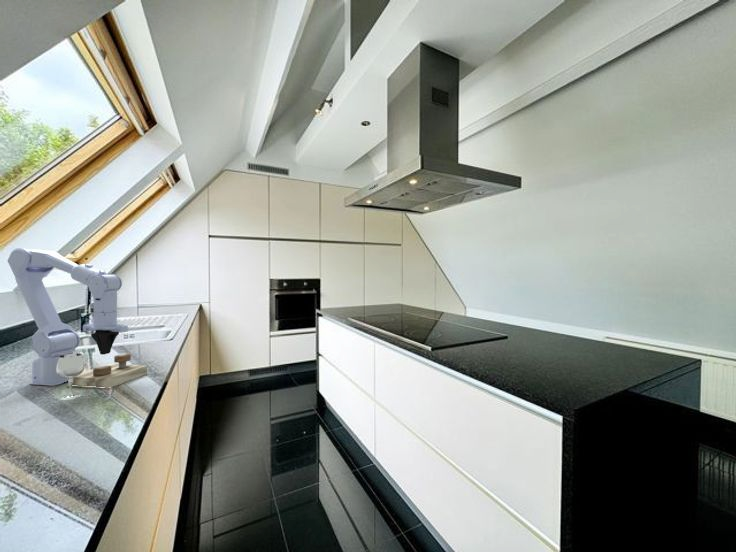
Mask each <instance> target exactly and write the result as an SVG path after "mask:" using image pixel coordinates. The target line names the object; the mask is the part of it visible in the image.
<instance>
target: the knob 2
mask: <svg viewBox="0 0 736 552" xmlns="http://www.w3.org/2000/svg"><path fill="white" fill-rule="evenodd" d="M113 358H114V359H113V361H114V363H115V364H119V369H125V368H126V364H127V362H129V361H131V360H132V355H131V353H118V354H116V355H114V356H113Z"/></svg>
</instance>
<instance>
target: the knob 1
mask: <svg viewBox="0 0 736 552" xmlns="http://www.w3.org/2000/svg"><path fill="white" fill-rule="evenodd" d="M108 365H109V364H105V365H100V366H96V367H93V368H92V369H93V375H94V376H104V375H106V374H109V373H111V366H108Z"/></svg>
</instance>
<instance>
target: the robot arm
mask: <svg viewBox="0 0 736 552" xmlns="http://www.w3.org/2000/svg"><path fill="white" fill-rule="evenodd" d="M7 263H8V266H9V267H10V269H11V271H12V273H13V276H14V279H15V282H16V284H17V286H18V289H19V291H20V292H21V295H22V297H23V299H24V301H25V303H26V306H27V307H28V309H29V312H30V313H31V316H32V318H33V320H34V322H35V324H36V327H37V331H35V333H33V335H32V336H31V341H32V342H33V345H32V346H33V351H34V352H35V354H37V355H38V356H36V357H35V358H34V359H33V362H32V365H31V367H32V368H31V370H32V371H31V374H32V375H31V376H32V378H31V381H30V382H28V385H35V386H36V385H37V386H51V387H53V386H59V385H61V384H65V383H68V382H67V381H69V378H62V377H60V376H58V374H57V371H56V367H57V363H58V359H59V357H60V356H63V355H67V354H74V352H76V349H77V348H78V347H79V346H80V343H81V337H80V335H79V334H78V332H76V331H75V330H74V328H73V326H72V325H69V324H67V323H64V322H62V320H61V318H60V315H59V314H58V311H57V310H56V307H55V305H54V302H53V301H52V299H51V297H50V295H49V293H48V291H47V289H46V285H45V284H44V282H43V279H44V278H46V277H48V275H49V274H50V273H51V272H52V271H53V270H54V269H57V270H59V271H62V272H64V273H68V274H70V277H71V279H72V280H74V281H76V282H78V283H80V284H82V285H85V286H86V287H88V288H89V290H90V292H91V297H92V298H93V323H87V324H83V325H82V332H87V331H89V332H90V331H91V332H92V333H90V336H91V338H92V339H93V340H94V342H95V343H96V345H97V348H98V351H99V354H100V355H107V354H110V353H111V351H112V347H113V344H114V342H115V340H116V339H117V337H118V335H119V334H120V333H122V334H123V333H127V332H129V331H128V330H129V326H128V325H123V324H118V291H120V289H121V288H122V285H123V282H122V281H123V280H122V279H121V277H120V276H118V275H117V274H116V273H115V274H114V273H110V274H107V273H106V271H104V270H99V269H97V268H94V267H93V266H94V265H92V264H89V263H81V264H77V263H75V262H74V261H72V260H70V259H68V258H66V257H64V256H62V255H61V254H60V253H59V252H56V251H54V250H51V249H47V250H44V249H29V248H22V247H18V248H15V249H13V250H12V251H11V253H10V254H9V257H8V259H7ZM64 382H65V383H64Z"/></svg>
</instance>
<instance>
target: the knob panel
mask: <svg viewBox="0 0 736 552" xmlns="http://www.w3.org/2000/svg"><path fill="white" fill-rule="evenodd" d="M107 365H108V366H111V373H109V374H106V375H104V376H94V375H93V369H94V368H91V369H90V370H86V371H83V372H82V373H81V374H80V375H78V376H76V377H73V378H72V379H73V383H72V385H78V386H96V387H105V388H109V387H112V386H114V387H116V385H117V386H119V385H122V384H124V382H125V383H126V381H127V382H129V380H130V381H132V380H135V379H137V378H141V377H142V376H145V375H147V374H148V369H147V368H148V365H146V364H145V365H144V364H142V365H141V364H128V363H126V368H125V369H119V363H110V364H107ZM121 383H122V384H121ZM118 384H119V385H118ZM112 388H113V387H112ZM109 389H110V388H109Z"/></svg>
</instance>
